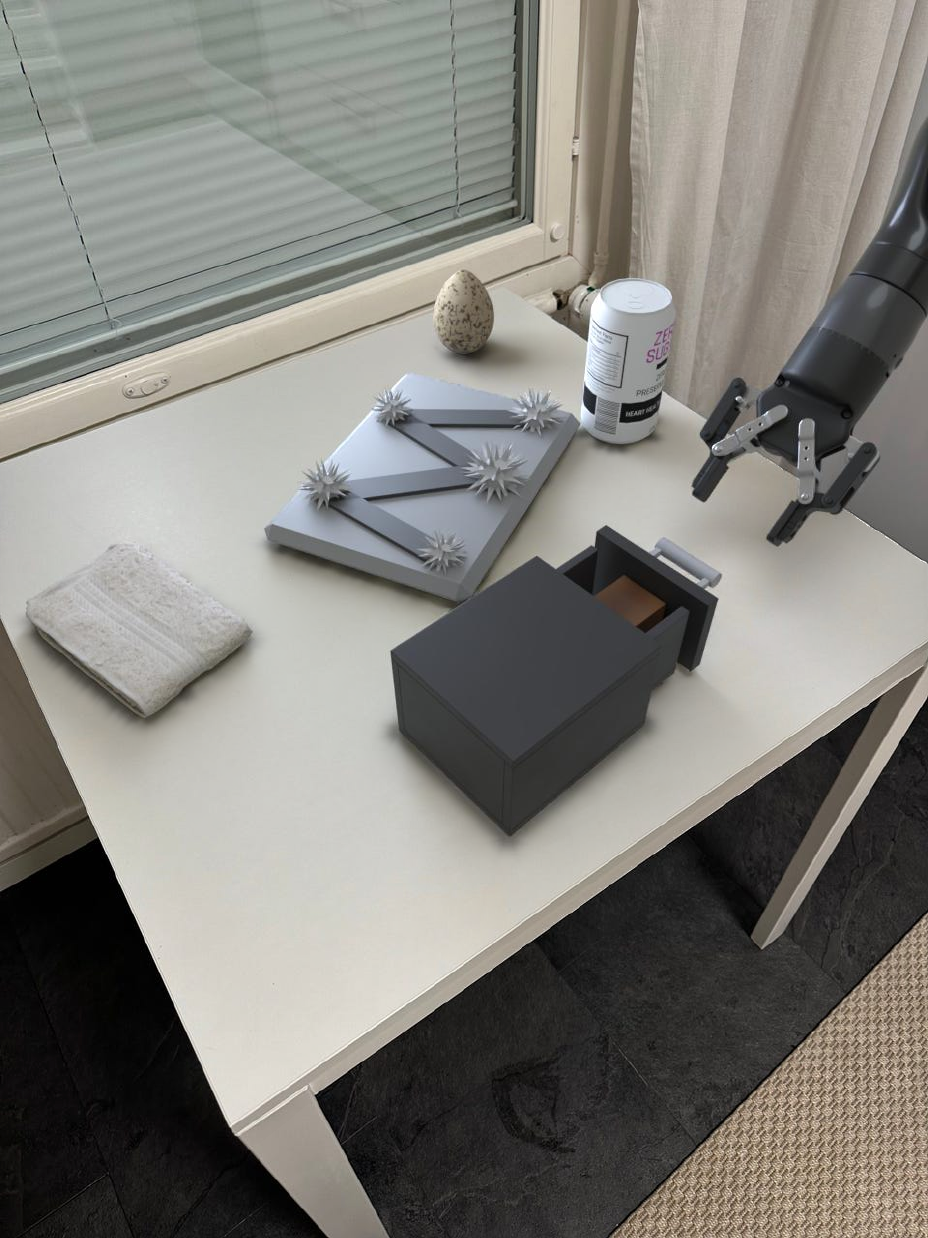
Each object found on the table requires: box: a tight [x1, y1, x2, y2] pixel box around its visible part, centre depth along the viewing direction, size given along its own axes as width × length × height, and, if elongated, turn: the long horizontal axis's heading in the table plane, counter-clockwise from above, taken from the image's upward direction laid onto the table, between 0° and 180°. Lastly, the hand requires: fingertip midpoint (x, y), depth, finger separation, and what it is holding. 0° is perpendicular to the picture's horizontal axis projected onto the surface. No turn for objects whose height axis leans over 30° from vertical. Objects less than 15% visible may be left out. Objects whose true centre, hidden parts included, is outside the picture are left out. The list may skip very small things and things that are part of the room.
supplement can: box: [580, 277, 677, 445], centre depth 92 cm, size 8×8×15 cm
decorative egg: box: [432, 269, 495, 355], centre depth 104 cm, size 7×7×10 cm
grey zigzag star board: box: [263, 372, 581, 603], centre depth 88 cm, size 30×22×7 cm
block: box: [594, 575, 666, 633], centre depth 72 cm, size 4×4×4 cm
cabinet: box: [389, 555, 662, 837], centre depth 66 cm, size 15×13×10 cm
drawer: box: [555, 524, 723, 692], centre depth 71 cm, size 18×11×8 cm, turn 132°
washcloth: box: [25, 540, 254, 718], centre depth 76 cm, size 12×18×3 cm, turn 52°
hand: (734, 520), depth 76 cm, fingers open, 7 cm apart
